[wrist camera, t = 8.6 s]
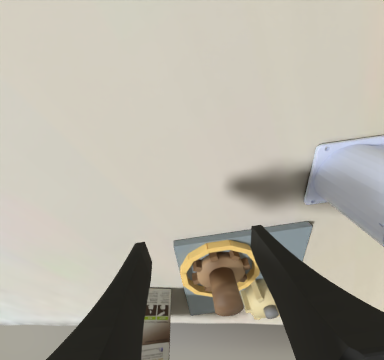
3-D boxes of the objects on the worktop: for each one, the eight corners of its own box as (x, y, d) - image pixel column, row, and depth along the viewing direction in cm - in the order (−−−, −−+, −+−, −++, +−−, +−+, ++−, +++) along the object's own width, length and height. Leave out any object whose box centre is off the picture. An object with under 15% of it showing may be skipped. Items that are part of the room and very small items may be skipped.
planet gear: (241, 240, 25) (257, 280, 20) (252, 275, 29) (267, 315, 24) (182, 258, 25) (184, 301, 20) (201, 289, 30) (206, 331, 25)
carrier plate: (307, 221, 25) (335, 250, 21) (288, 295, 34) (304, 326, 30) (173, 240, 25) (173, 274, 21) (190, 309, 34) (192, 343, 30)
